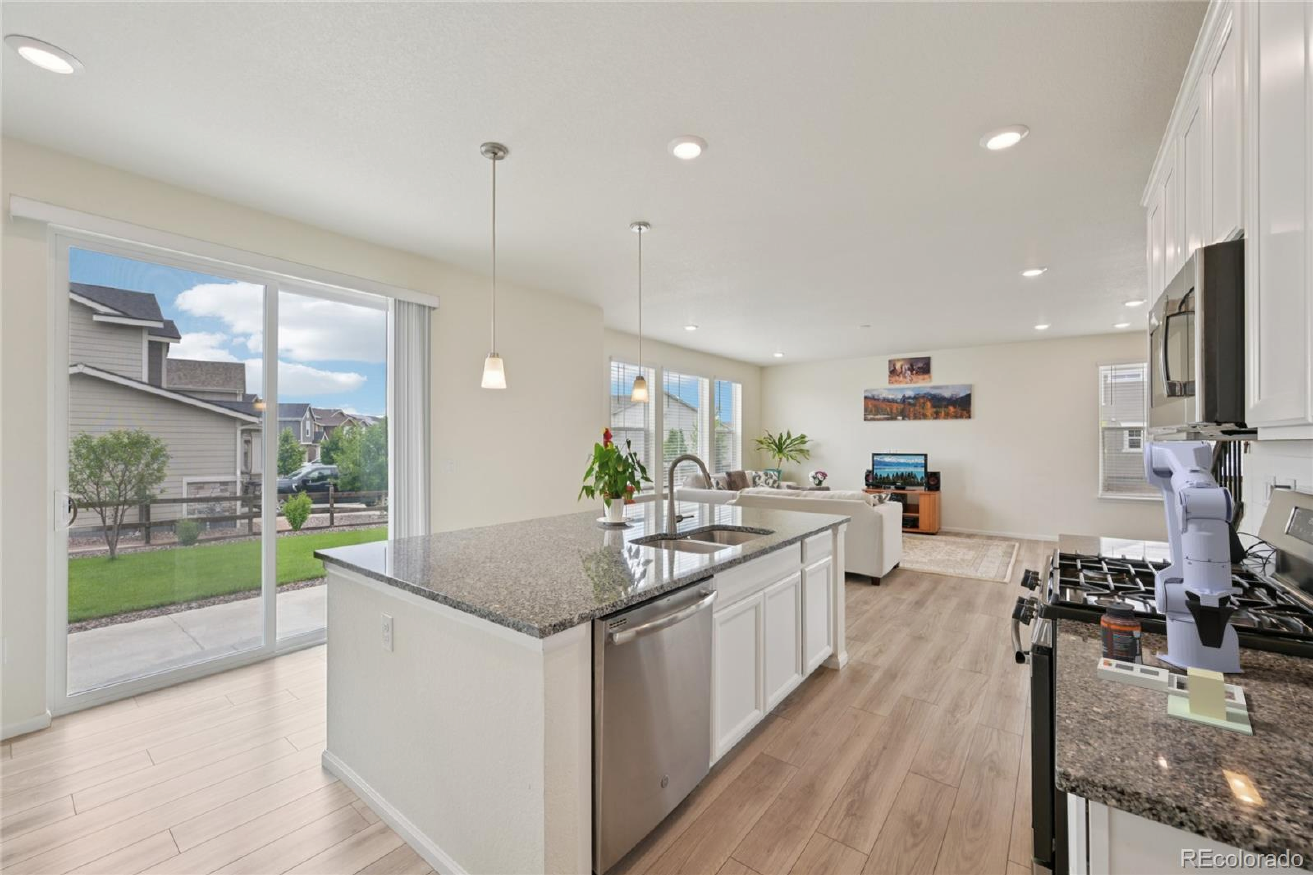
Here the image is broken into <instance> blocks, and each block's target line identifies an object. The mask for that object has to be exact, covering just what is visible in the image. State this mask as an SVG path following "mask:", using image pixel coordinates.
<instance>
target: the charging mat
mask: <svg viewBox="0 0 1313 875" xmlns="http://www.w3.org/2000/svg"><path fill="white" fill-rule="evenodd" d="M1166 711H1167V712H1166V713H1167V717H1171V718H1174V719H1178V720H1179V719H1180V720H1182V721H1183V720H1184V721H1188V722H1193V723H1196V724H1201V725H1204V726H1210V727H1214V728H1219V729H1222V730H1226V731H1231V732H1234V733H1240V734H1243V735H1247V736H1251V737H1253V730H1252V725H1251V721H1250V718H1249V713H1248V711H1245V710H1240V709H1235V708H1231V707H1226V721H1224V720H1220V719H1215V718H1211V717H1206V716H1202V715H1197V714H1193V713H1190V712H1189V699H1188V698H1183V697H1178V696H1174V695H1169V694H1168V696H1167V710H1166Z"/></svg>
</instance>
